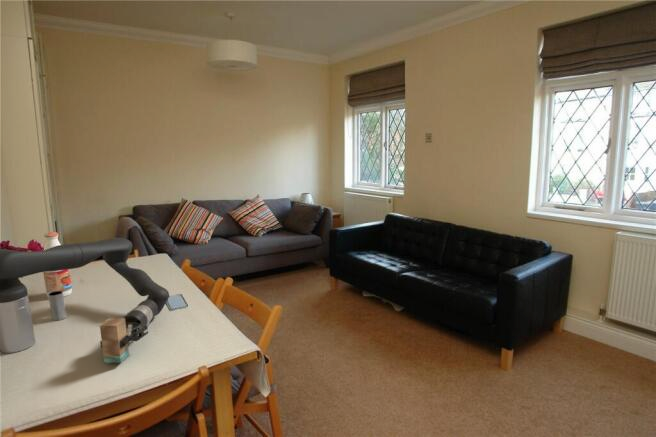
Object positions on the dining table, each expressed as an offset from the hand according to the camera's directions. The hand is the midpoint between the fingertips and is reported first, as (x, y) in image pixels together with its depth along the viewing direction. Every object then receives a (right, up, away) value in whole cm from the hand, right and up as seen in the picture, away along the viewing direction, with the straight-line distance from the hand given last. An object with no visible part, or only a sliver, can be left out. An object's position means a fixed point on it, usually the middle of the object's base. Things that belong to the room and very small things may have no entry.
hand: (111, 345), depth 120 cm
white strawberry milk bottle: (-54, +4, +57) cm, 79 cm away
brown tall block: (0, +7, +1) cm, 7 cm away
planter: (-39, -1, +34) cm, 51 cm away
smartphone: (+1, +2, +48) cm, 48 cm away
